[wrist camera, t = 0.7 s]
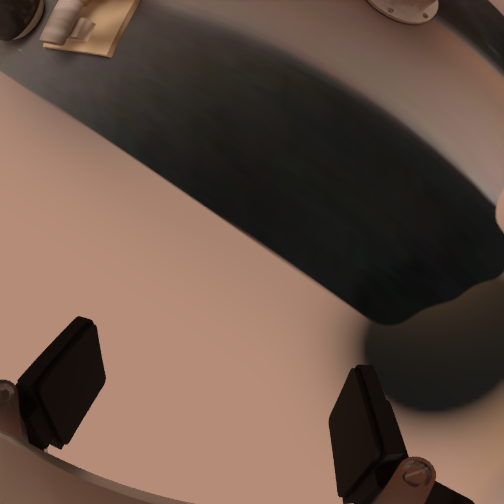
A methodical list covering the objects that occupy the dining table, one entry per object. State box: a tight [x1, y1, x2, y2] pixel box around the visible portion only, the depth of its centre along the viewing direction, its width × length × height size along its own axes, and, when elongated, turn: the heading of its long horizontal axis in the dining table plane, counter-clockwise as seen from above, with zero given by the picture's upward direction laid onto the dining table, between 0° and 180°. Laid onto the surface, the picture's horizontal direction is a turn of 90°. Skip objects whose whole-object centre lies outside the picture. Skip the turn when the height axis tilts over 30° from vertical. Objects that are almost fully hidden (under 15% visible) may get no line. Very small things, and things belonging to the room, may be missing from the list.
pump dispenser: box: [0, 0, 44, 41], centre depth 22 cm, size 10×10×15 cm
